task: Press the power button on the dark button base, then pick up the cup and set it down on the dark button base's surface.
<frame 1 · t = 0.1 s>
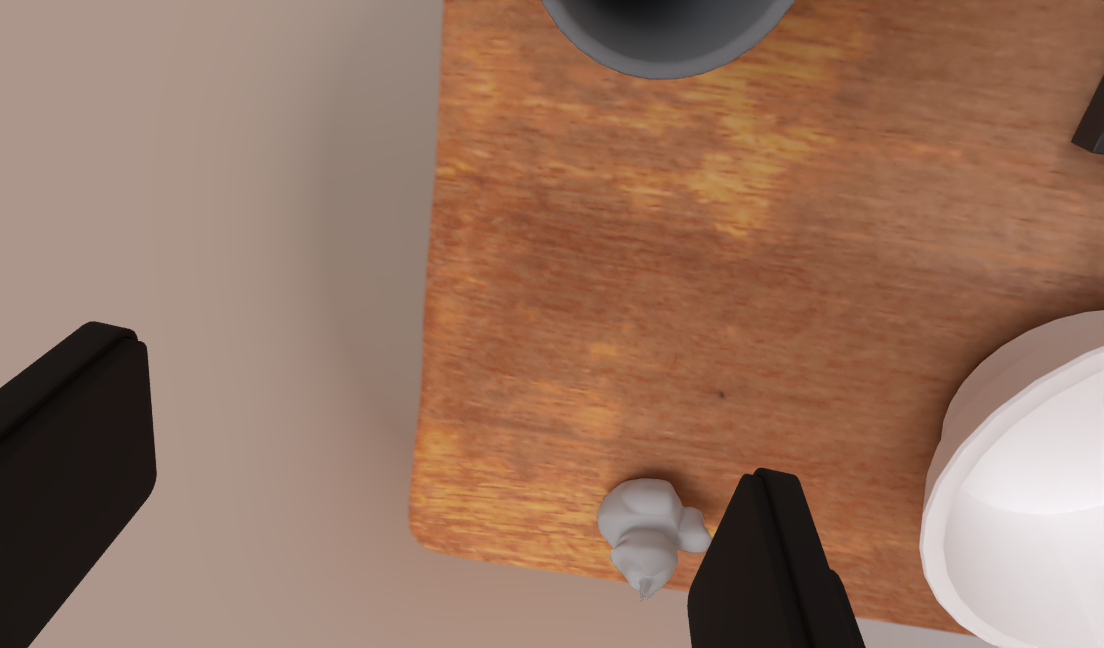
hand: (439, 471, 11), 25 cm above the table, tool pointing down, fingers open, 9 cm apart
bowl: (1065, 410, 39), on the table
rubber duck: (650, 494, 44), on the table
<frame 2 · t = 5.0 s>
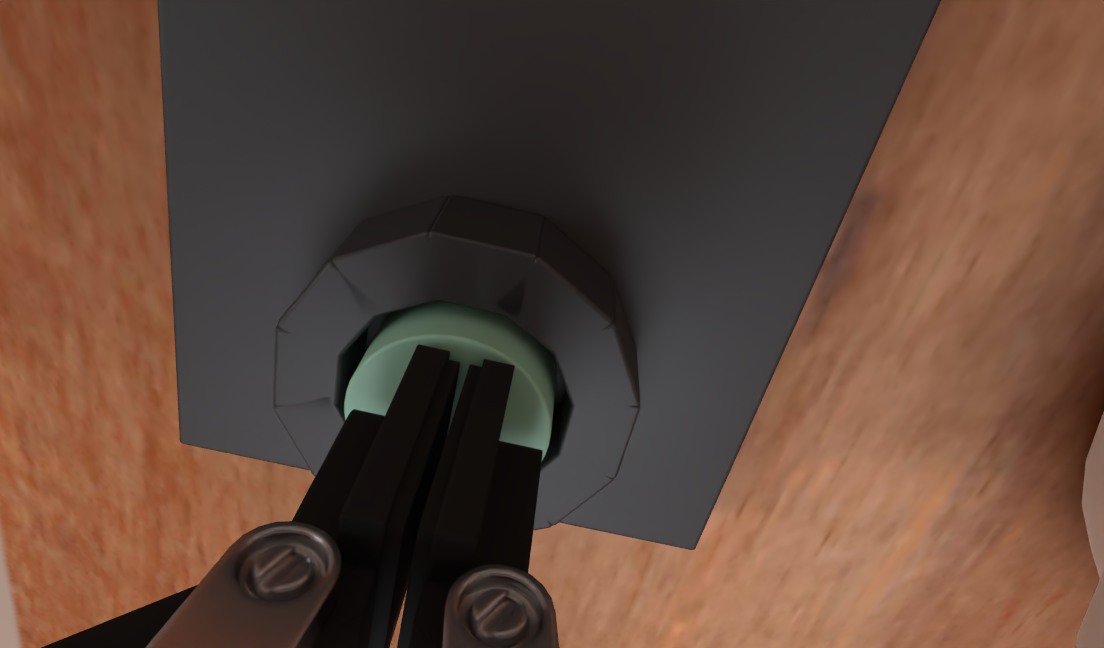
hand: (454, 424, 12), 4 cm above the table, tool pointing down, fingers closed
power button: (455, 396, 13), point 3 cm above the table, slide at -0.7 cm, touching gripper
dark button base: (526, 87, 13), on the table
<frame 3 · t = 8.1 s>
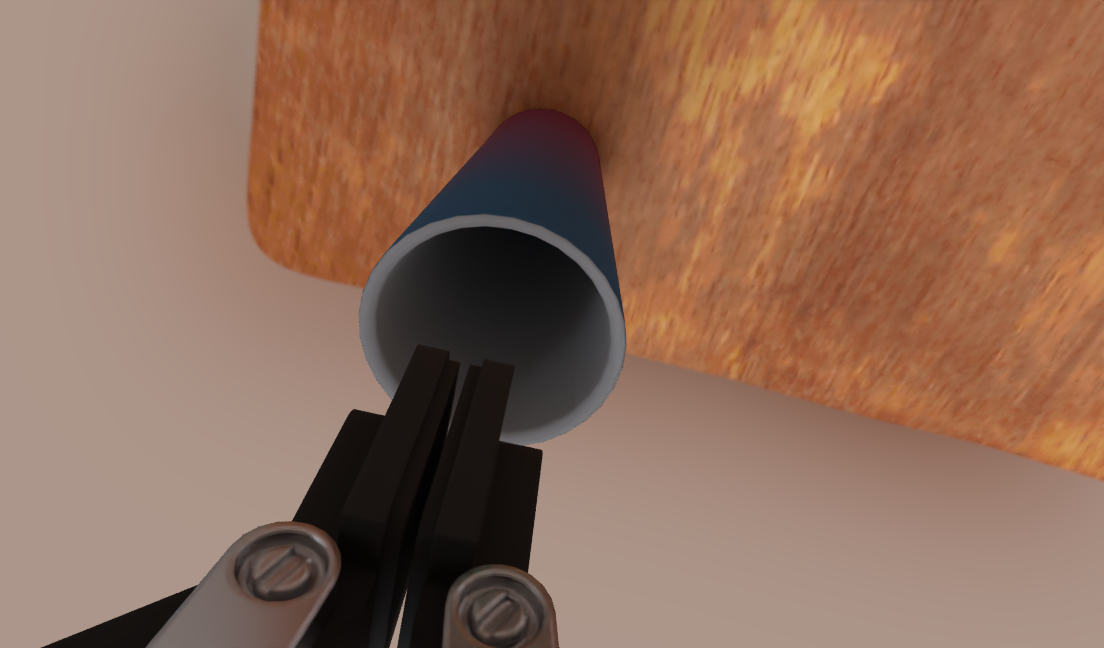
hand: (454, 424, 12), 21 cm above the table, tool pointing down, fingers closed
cup: (542, 165, 31), on the table
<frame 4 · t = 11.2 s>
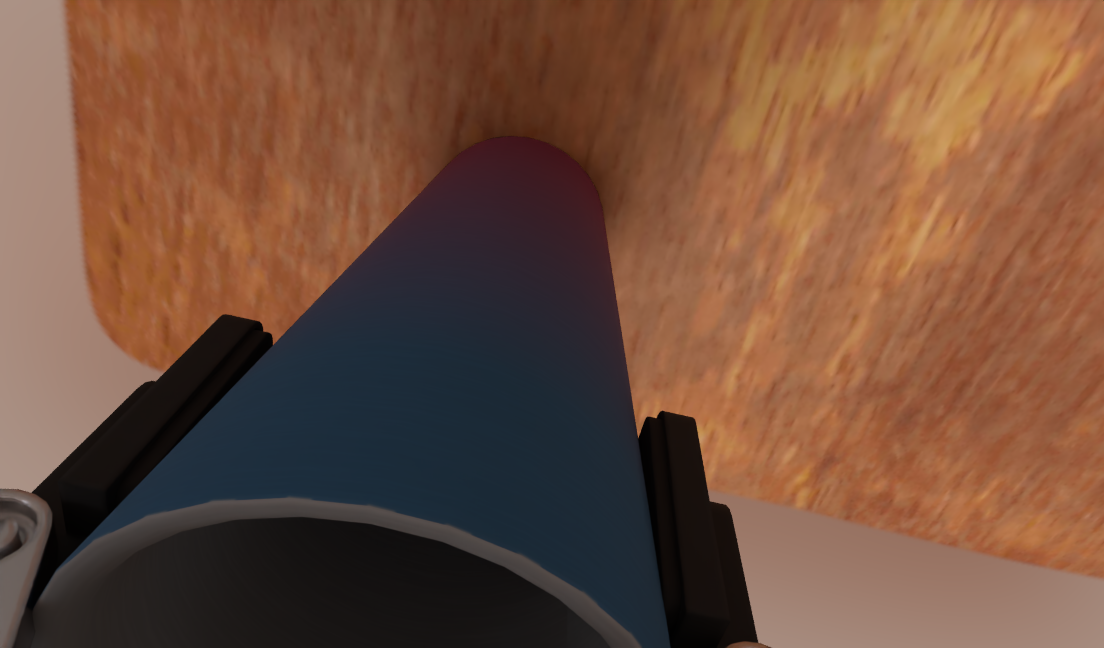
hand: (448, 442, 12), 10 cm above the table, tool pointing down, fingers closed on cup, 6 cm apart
cup: (516, 220, 21), on the table, touching gripper
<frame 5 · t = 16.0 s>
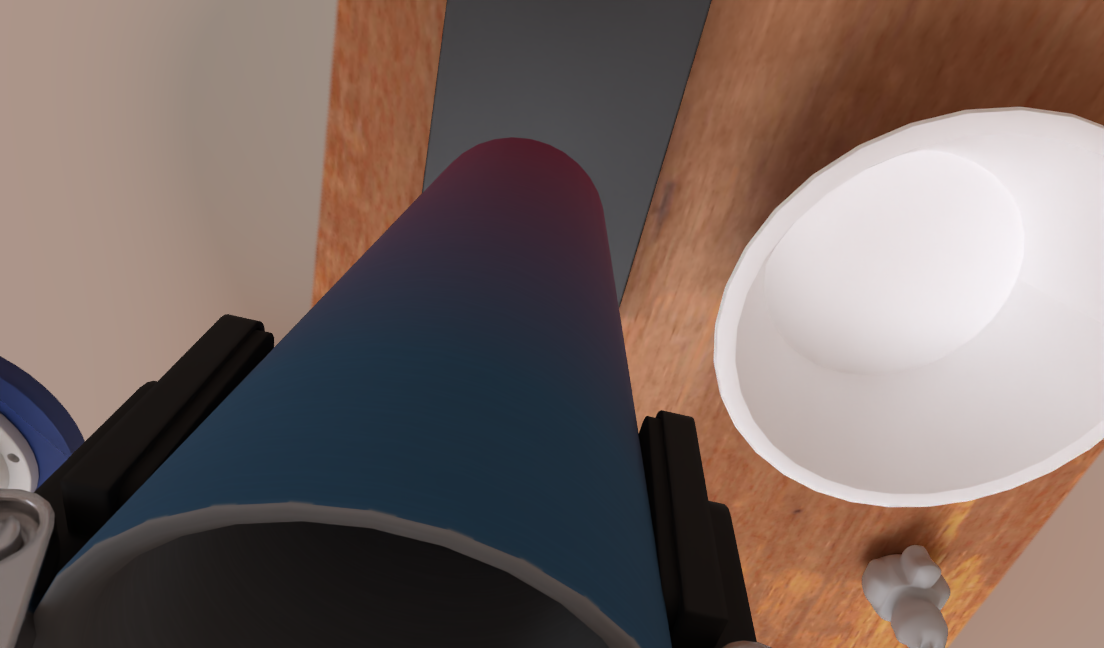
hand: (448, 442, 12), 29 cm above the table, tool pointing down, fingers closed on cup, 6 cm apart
bowl: (884, 264, 40), on the table
rubber duck: (893, 557, 51), on the table
cup: (517, 221, 21), point 19 cm above the table, touching gripper
dark button base: (547, 145, 38), on the table
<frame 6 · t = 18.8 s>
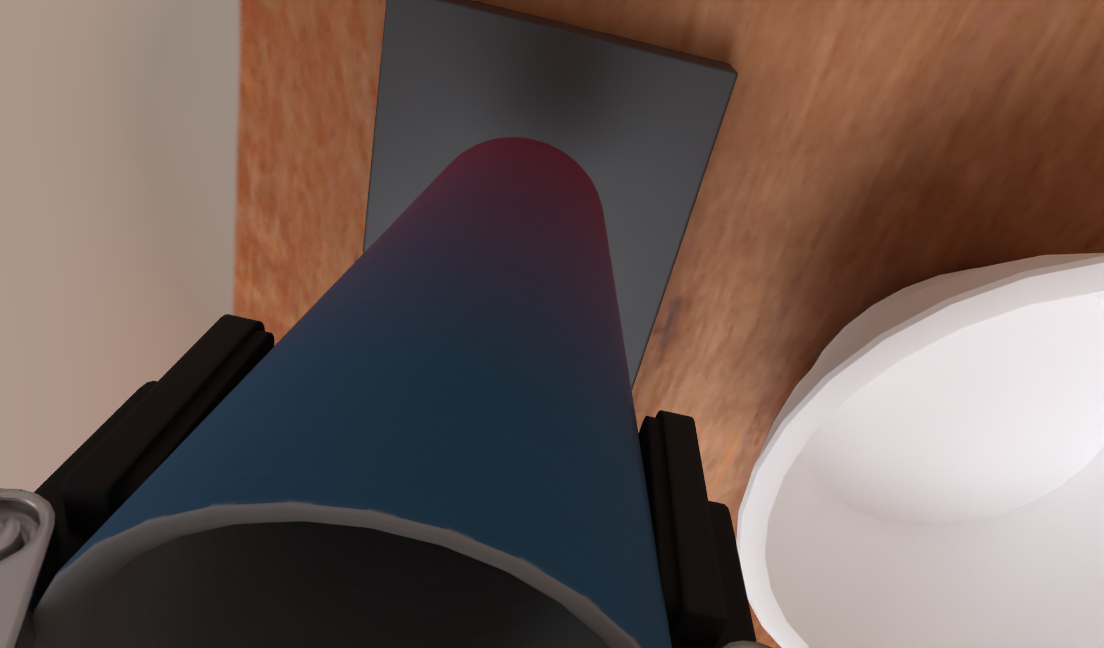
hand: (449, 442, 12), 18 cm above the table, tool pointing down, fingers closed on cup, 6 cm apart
bowl: (949, 397, 32), on the table
cup: (517, 221, 21), point 8 cm above the table, touching gripper
dark button base: (518, 252, 30), on the table
when the fingers open (12 cm above the table, at t = 21.1 s): cup stays where it is, resting on dark button base.
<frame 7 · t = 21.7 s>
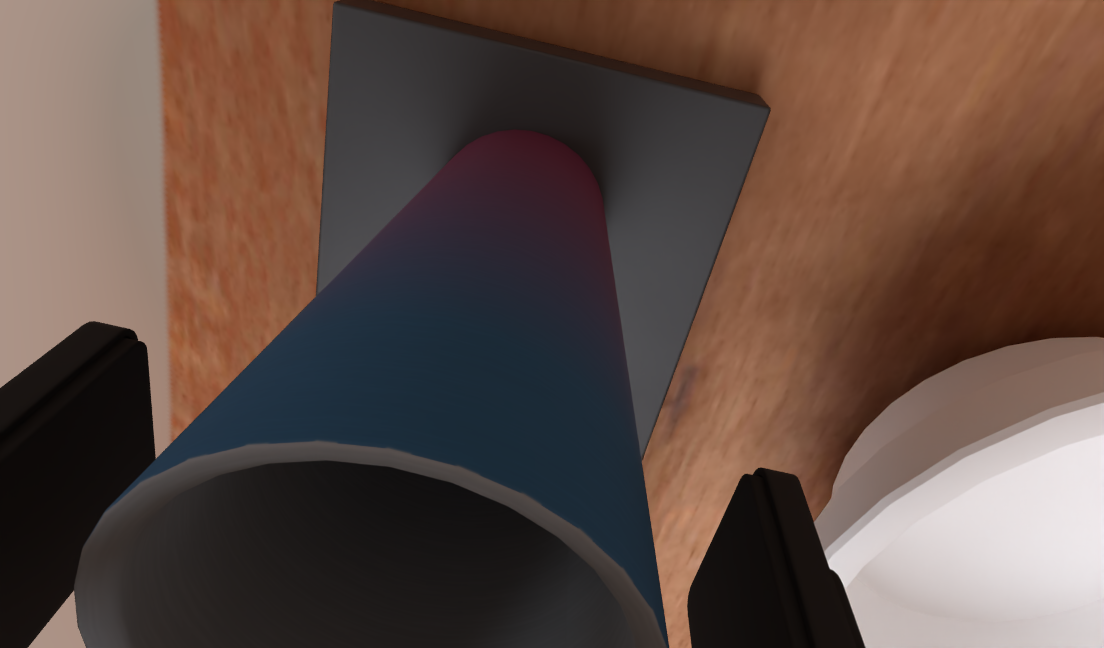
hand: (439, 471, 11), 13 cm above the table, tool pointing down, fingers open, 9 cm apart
bowl: (1009, 479, 27), on the table
cup: (520, 211, 21), point 2 cm above the table, touching dark button base
dark button base: (502, 313, 25), on the table
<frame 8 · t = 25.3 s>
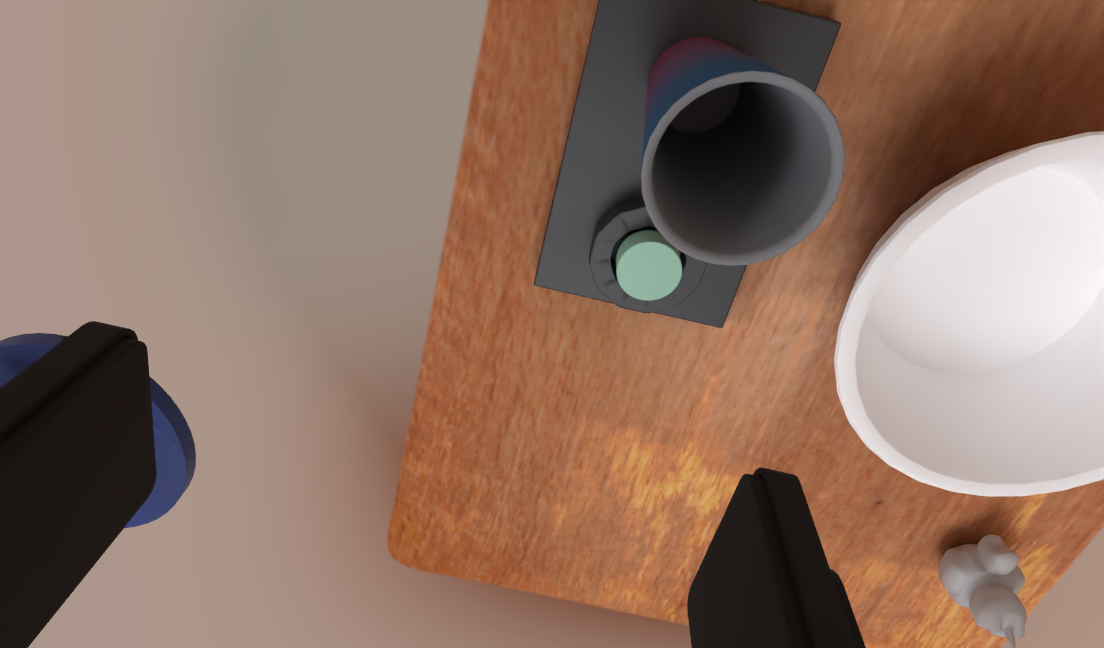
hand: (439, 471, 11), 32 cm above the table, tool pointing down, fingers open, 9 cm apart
bowl: (978, 270, 43), on the table
rubber duck: (967, 547, 54), on the table
power button: (648, 265, 40), point 4 cm above the table, slide at 0.1 cm
cup: (694, 86, 38), point 2 cm above the table, touching dark button base
dark button base: (669, 159, 41), on the table
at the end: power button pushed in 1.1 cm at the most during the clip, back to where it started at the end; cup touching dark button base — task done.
